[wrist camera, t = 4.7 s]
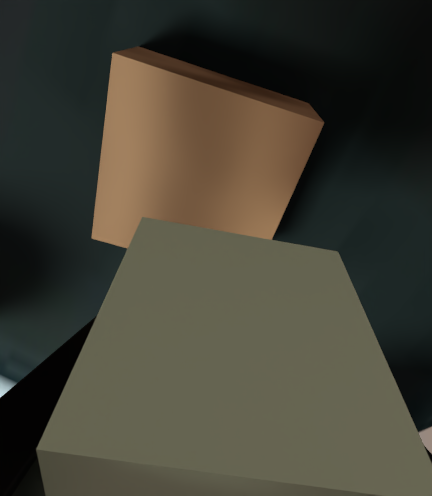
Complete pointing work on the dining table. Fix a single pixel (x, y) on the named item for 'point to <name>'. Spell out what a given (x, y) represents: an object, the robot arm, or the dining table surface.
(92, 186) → the dining table surface
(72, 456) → the green block
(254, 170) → the walnut block
